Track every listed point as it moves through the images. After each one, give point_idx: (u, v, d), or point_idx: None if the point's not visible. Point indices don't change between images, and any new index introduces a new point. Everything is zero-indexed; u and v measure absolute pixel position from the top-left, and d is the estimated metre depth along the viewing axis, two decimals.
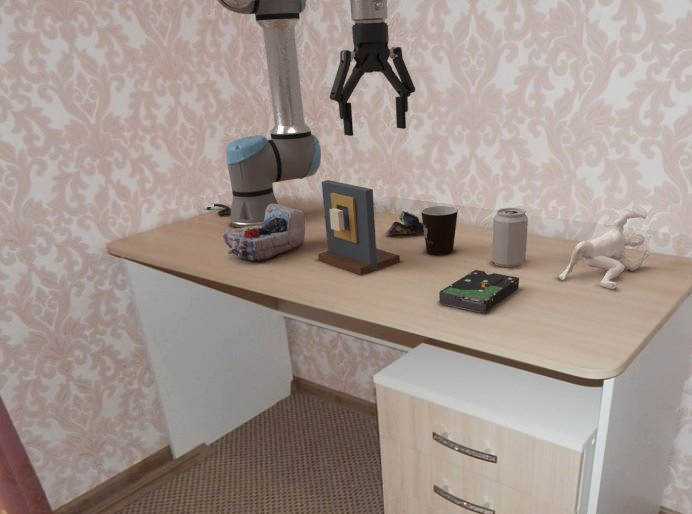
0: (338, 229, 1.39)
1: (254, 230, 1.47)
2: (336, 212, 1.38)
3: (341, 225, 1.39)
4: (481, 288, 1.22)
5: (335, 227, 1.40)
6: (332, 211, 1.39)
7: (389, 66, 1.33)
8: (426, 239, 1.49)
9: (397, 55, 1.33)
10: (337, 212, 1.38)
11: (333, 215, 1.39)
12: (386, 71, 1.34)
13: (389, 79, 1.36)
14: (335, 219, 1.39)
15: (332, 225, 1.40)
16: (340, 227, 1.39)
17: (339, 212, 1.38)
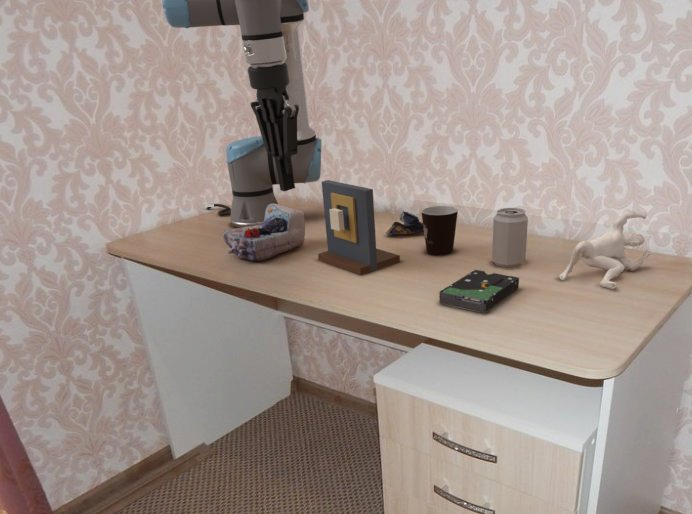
0: (338, 229, 1.39)
1: (254, 230, 1.47)
2: (336, 212, 1.38)
3: (341, 225, 1.39)
4: (481, 288, 1.22)
5: (335, 227, 1.40)
6: (332, 211, 1.39)
7: (273, 118, 1.20)
8: (426, 239, 1.49)
9: (283, 112, 1.18)
10: (337, 212, 1.38)
11: (333, 215, 1.39)
12: None
13: None
14: (335, 219, 1.39)
15: (332, 225, 1.40)
16: (340, 227, 1.39)
17: (339, 212, 1.38)
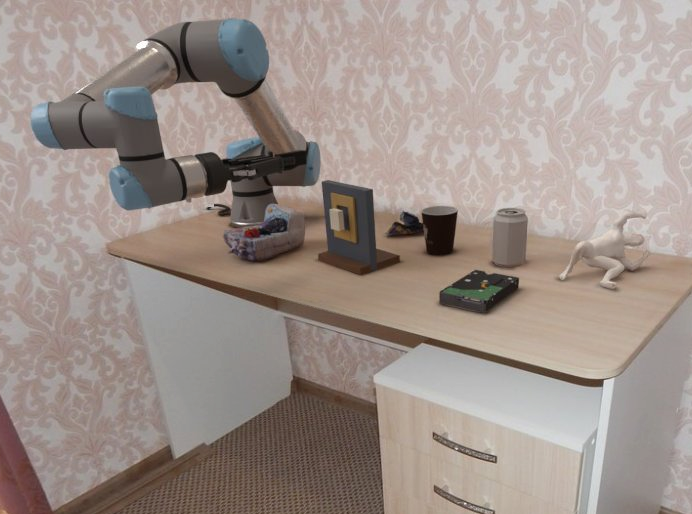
0: (338, 229, 1.39)
1: (254, 230, 1.47)
2: (336, 212, 1.38)
3: (341, 225, 1.39)
4: (481, 288, 1.22)
5: (335, 227, 1.40)
6: (332, 211, 1.39)
7: (248, 178, 1.20)
8: (426, 239, 1.49)
9: None
10: (337, 212, 1.38)
11: (333, 215, 1.39)
12: None
13: None
14: (335, 219, 1.39)
15: (332, 225, 1.40)
16: (340, 227, 1.39)
17: (339, 212, 1.38)
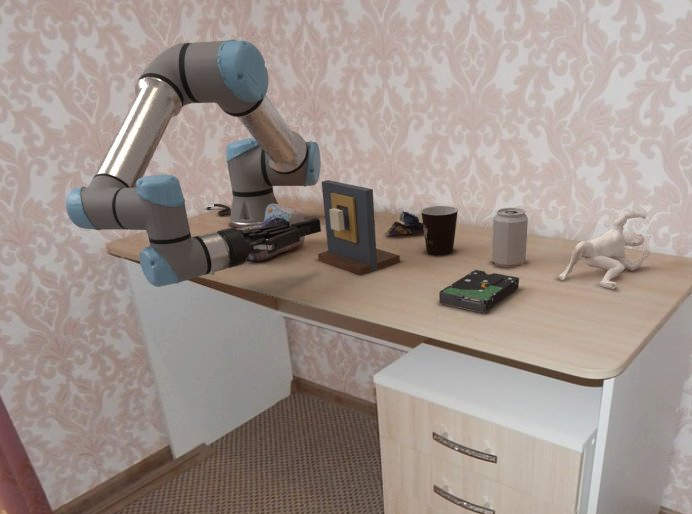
0: (338, 229, 1.39)
1: None
2: (336, 212, 1.38)
3: (341, 225, 1.39)
4: (481, 288, 1.22)
5: (335, 227, 1.40)
6: (332, 211, 1.39)
7: None
8: (426, 239, 1.49)
9: None
10: (337, 212, 1.38)
11: (333, 215, 1.39)
12: None
13: None
14: (335, 219, 1.39)
15: (332, 225, 1.40)
16: (340, 227, 1.39)
17: (339, 212, 1.38)
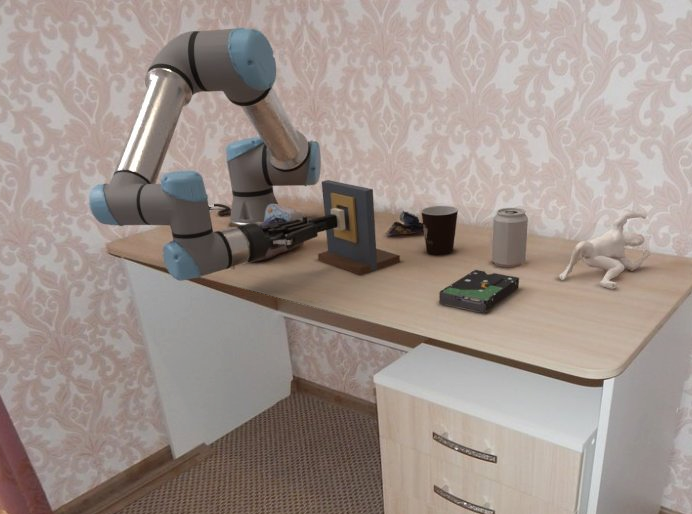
0: (339, 229, 1.40)
1: None
2: (337, 212, 1.38)
3: (342, 225, 1.39)
4: (481, 288, 1.22)
5: (336, 227, 1.40)
6: (333, 211, 1.39)
7: None
8: (426, 239, 1.49)
9: None
10: (338, 212, 1.38)
11: None
12: None
13: None
14: None
15: None
16: (341, 227, 1.39)
17: (340, 212, 1.38)
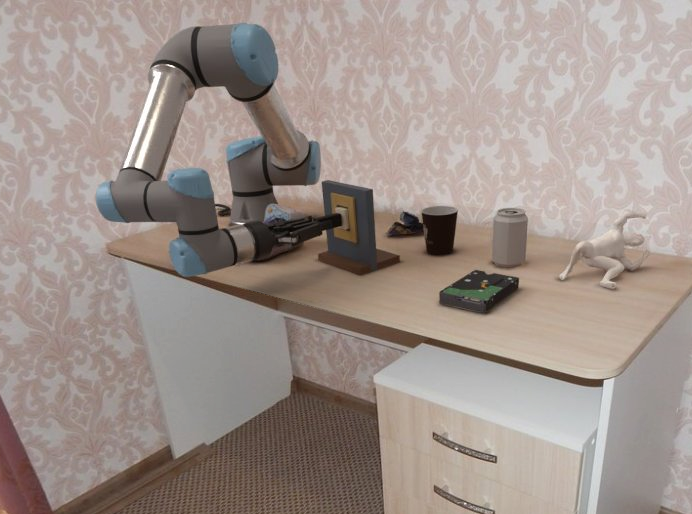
0: (344, 227, 1.40)
1: None
2: (342, 210, 1.39)
3: (347, 223, 1.40)
4: (481, 288, 1.22)
5: None
6: (338, 209, 1.40)
7: None
8: (426, 239, 1.49)
9: None
10: (343, 210, 1.39)
11: None
12: None
13: None
14: (341, 217, 1.40)
15: None
16: (346, 225, 1.40)
17: (344, 211, 1.39)
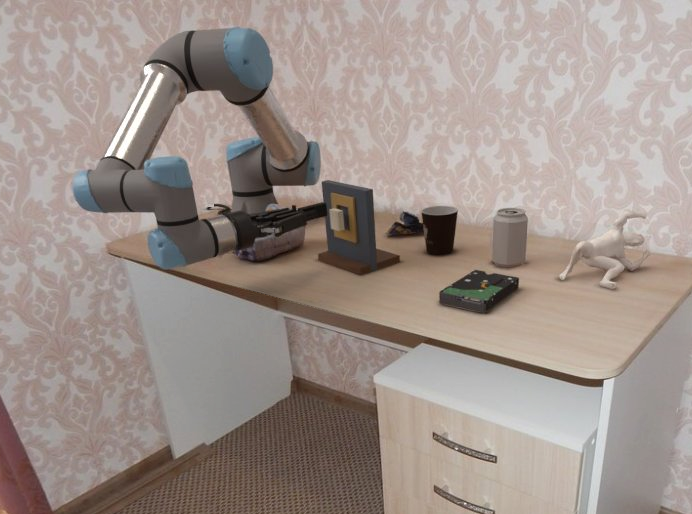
0: (338, 229, 1.39)
1: None
2: (336, 212, 1.38)
3: (341, 225, 1.39)
4: (481, 288, 1.22)
5: (335, 227, 1.40)
6: (332, 211, 1.39)
7: None
8: (426, 239, 1.49)
9: None
10: (337, 212, 1.38)
11: (333, 215, 1.39)
12: None
13: None
14: (335, 219, 1.39)
15: (332, 225, 1.40)
16: (340, 227, 1.39)
17: (339, 212, 1.38)
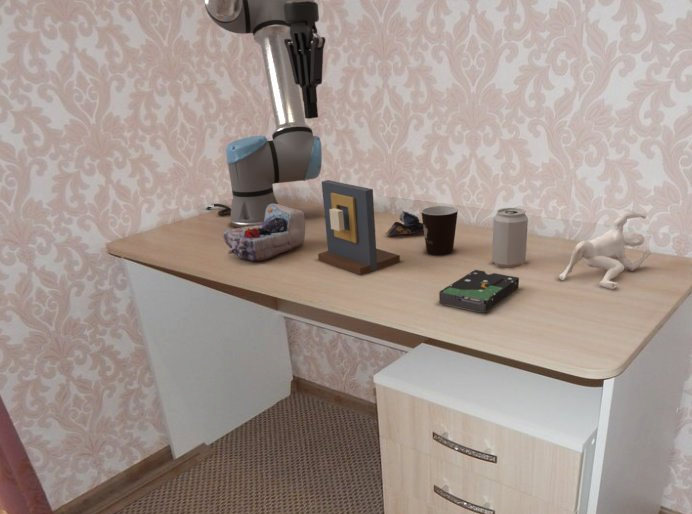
0: (338, 229, 1.39)
1: (254, 230, 1.47)
2: (336, 212, 1.38)
3: (341, 225, 1.39)
4: (481, 288, 1.22)
5: (335, 227, 1.40)
6: (332, 211, 1.39)
7: (302, 49, 1.39)
8: (426, 239, 1.49)
9: (312, 42, 1.36)
10: (337, 212, 1.38)
11: (333, 215, 1.39)
12: None
13: None
14: (335, 219, 1.39)
15: (332, 225, 1.40)
16: (340, 227, 1.39)
17: (339, 212, 1.38)
